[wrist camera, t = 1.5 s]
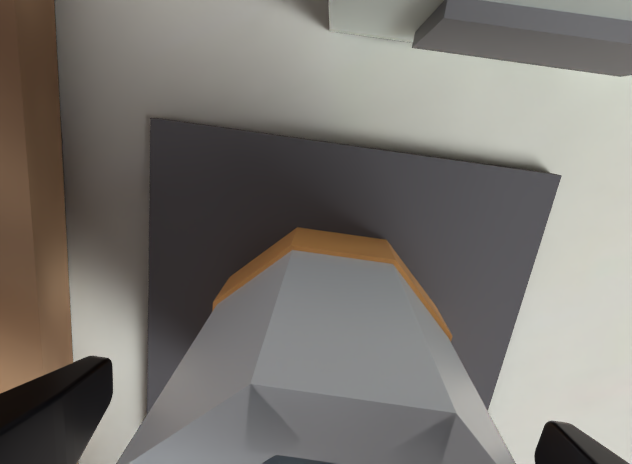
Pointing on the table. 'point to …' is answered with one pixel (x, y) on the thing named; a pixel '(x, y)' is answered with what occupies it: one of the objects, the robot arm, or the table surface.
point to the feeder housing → (502, 29)
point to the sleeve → (320, 369)
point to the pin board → (31, 198)
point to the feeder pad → (337, 229)
